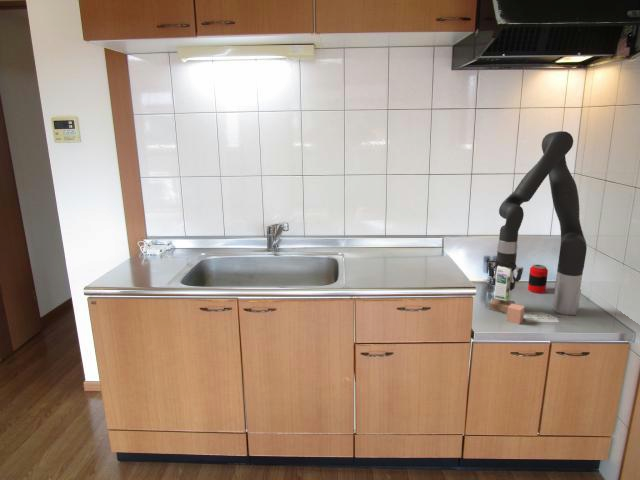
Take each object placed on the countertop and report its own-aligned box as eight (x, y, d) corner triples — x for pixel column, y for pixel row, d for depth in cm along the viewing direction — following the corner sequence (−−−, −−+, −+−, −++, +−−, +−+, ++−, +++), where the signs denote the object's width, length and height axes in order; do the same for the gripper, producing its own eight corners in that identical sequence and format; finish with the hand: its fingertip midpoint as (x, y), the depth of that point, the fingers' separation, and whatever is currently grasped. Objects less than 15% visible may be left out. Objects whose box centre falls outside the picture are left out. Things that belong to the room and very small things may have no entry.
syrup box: (493, 298, 191) (496, 266, 187) (497, 294, 196) (500, 262, 192) (507, 301, 188) (510, 269, 184) (511, 297, 193) (514, 265, 189)
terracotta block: (523, 319, 183) (524, 306, 181) (519, 324, 179) (520, 310, 177) (510, 316, 186) (511, 303, 184) (506, 320, 182) (507, 307, 180)
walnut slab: (514, 308, 194) (514, 301, 193) (508, 314, 188) (508, 307, 187) (495, 303, 199) (496, 297, 198) (488, 309, 193) (489, 303, 192)
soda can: (542, 287, 215) (544, 264, 212) (547, 293, 208) (550, 269, 205) (525, 287, 216) (528, 263, 213) (530, 293, 209) (533, 269, 206)
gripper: (528, 251, 184) (523, 289, 189) (493, 245, 193) (489, 281, 198) (522, 255, 179) (518, 294, 183) (486, 249, 188) (483, 286, 192)
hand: (503, 287), depth 191 cm, fingers closed on syrup box, 6 cm apart
